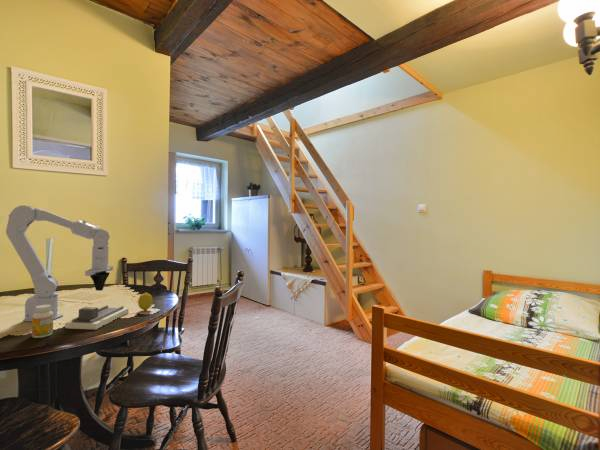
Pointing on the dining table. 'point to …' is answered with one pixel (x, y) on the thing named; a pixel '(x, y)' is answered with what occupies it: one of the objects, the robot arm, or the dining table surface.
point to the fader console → (98, 318)
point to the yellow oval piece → (145, 301)
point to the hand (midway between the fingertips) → (99, 290)
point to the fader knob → (88, 313)
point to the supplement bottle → (42, 321)
